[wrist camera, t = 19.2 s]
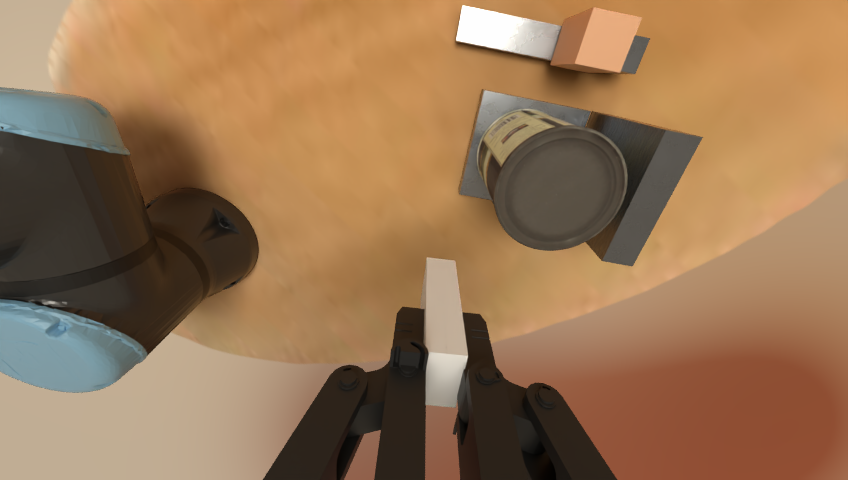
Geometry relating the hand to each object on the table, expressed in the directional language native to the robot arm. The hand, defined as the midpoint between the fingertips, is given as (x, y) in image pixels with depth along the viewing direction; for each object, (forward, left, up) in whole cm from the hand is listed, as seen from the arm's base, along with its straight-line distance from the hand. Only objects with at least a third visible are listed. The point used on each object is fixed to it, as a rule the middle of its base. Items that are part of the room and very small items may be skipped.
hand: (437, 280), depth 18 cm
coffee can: (+9, +3, -25) cm, 27 cm away
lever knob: (+11, +15, -24) cm, 31 cm away
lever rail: (+7, +15, -27) cm, 31 cm away
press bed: (+11, +3, -27) cm, 29 cm away
